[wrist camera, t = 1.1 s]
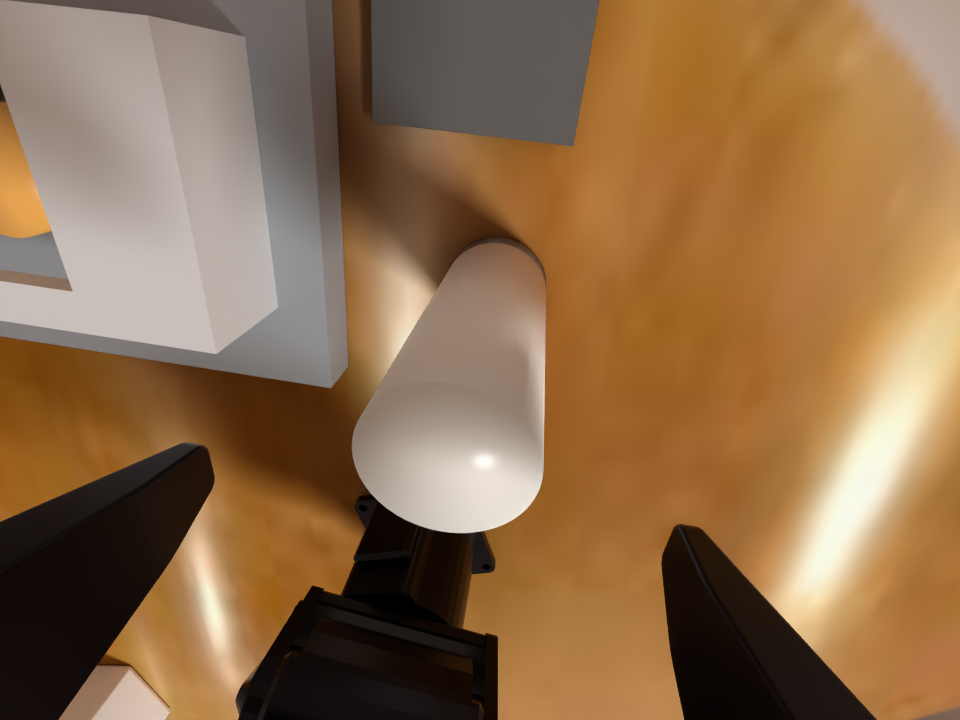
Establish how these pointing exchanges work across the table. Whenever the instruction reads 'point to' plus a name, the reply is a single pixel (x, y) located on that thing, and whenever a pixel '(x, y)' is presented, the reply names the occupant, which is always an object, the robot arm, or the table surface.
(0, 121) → the button
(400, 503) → the white cylinder
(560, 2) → the pad
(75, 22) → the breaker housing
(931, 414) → the table surface
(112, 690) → the medicine bottle
